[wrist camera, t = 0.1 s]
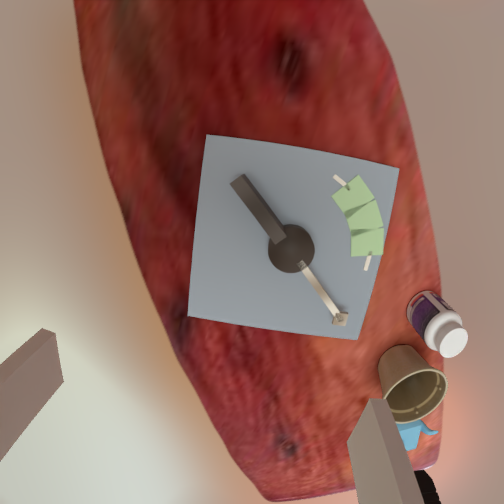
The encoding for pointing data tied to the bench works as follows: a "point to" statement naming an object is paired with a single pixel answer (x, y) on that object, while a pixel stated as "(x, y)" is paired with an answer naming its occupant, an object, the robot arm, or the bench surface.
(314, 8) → the bench surface
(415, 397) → the flower pot
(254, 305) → the tuner board
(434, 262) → the bench surface
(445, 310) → the pill bottle
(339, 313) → the dark long piece
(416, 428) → the teapot
